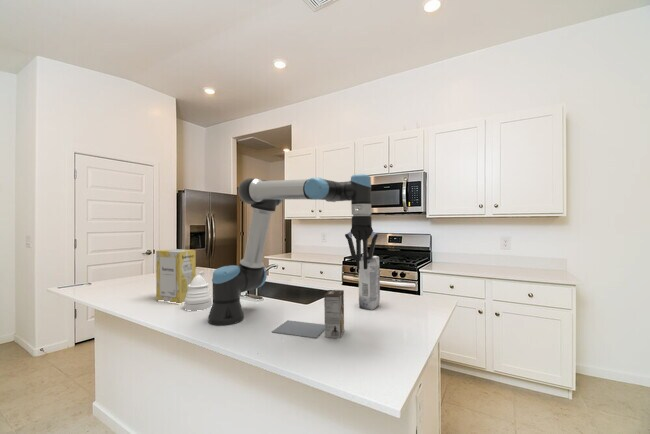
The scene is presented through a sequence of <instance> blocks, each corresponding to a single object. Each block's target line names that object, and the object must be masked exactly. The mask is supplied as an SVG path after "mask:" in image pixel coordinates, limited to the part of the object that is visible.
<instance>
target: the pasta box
mask: <svg viewBox="0 0 650 434" xmlns="http://www.w3.org/2000/svg"><path fill="white" fill-rule="evenodd" d="M196 254H197V252H196V249H195V250H194V249H183V248H181V249H178V248H171V249H163V250H162V249H161V250H156V251H155V255H156V258H155V267H156V268H155V269H156V270H155V274H156V275H155V276H156V277H155V278H156V279H155V280H156V281H155V285H156V287H155V288H156V292H155V293H156V296H155V298H156V299H157V300H164V301H170V302H176V303H182V302H184V301H185V300H184V299H185V297H186V294H187V291H188V289H189V287H188V285H189V284H191V282H192V280H193V278H194V277H195V276H197V275H196V273H197V270H196V269H197V267H196V264H197V263H196V260H197V257H196Z"/></svg>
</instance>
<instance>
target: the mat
mask: <svg viewBox="0 0 650 434" xmlns="http://www.w3.org/2000/svg"><path fill="white" fill-rule="evenodd" d="M323 332H325V323H324V324H323V323H314V322H307V321H306V322H305V321H296V320H290V319H288V320H286V321H284V322H283V323H282V324H280V325H279V326H277V327H276V328H274V329H273V330H272V331H271V333H272V334H279V335H287V336H295V337H300V338H301V337H302V338H309V339H314V340H315V339H318V338H319V336H321V334H322V333H323Z"/></svg>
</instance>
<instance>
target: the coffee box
mask: <svg viewBox="0 0 650 434" xmlns="http://www.w3.org/2000/svg"><path fill="white" fill-rule="evenodd" d="M344 290H345V289H344ZM344 290H343V289H341V290H340V289H328V291H327V292H326V293H325V294H323V295H324V298H323V299H324V302H323V303H324V325H325V330H324V338H330V339H331V338H332V339H341V338H342V336H343V334H344V331H345V304H344V302H345V301H344V300H345V298H344V296H345V295H344V292H345V291H344Z"/></svg>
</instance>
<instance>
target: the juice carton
mask: <svg viewBox="0 0 650 434" xmlns="http://www.w3.org/2000/svg"><path fill="white" fill-rule="evenodd" d="M361 260H363V253H361ZM380 278H381V276H380V256H377V255H373V257H372V258H371V259H369V260H368V268H367V269H365V278H364V279H362V278H360V269H358V305H359V309H364V310H371V311H373V310H375V309H376V308H377V307H379V306H380V301H381V299H380V298H381V293H380V292H381V287H380V286H381V283H380V281H381V280H380Z"/></svg>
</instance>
